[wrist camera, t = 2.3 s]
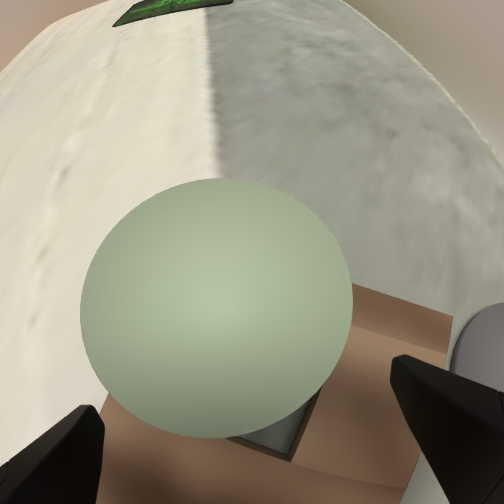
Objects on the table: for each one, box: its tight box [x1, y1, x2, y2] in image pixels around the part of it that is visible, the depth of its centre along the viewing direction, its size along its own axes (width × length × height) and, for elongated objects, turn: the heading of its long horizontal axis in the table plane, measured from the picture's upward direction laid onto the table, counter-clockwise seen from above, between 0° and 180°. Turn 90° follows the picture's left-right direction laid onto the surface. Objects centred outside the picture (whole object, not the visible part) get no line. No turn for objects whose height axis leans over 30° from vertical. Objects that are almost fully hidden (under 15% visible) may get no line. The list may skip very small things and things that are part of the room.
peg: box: [80, 178, 353, 438], centre depth 12 cm, size 6×6×13 cm
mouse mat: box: [112, 0, 233, 27], centre depth 54 cm, size 27×22×1 cm
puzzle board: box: [96, 283, 453, 504], centre depth 14 cm, size 20×16×3 cm
